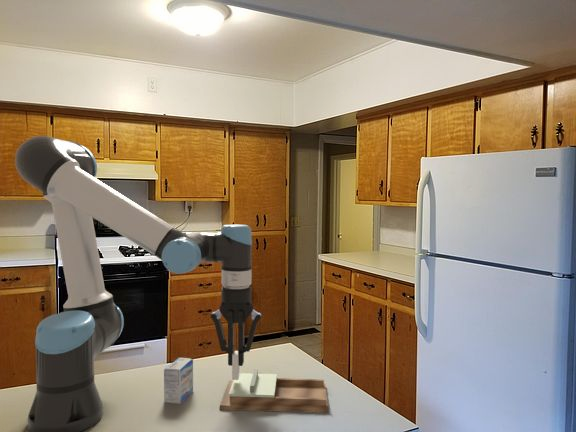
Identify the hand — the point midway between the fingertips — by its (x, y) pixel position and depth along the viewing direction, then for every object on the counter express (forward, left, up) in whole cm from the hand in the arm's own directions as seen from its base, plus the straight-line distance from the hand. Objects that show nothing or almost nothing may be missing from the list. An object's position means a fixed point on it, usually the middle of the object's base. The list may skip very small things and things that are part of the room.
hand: (235, 377), depth 113 cm
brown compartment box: (+10, 0, -5) cm, 11 cm away
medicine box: (-14, -1, -5) cm, 15 cm away
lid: (+5, 0, -2) cm, 5 cm away
